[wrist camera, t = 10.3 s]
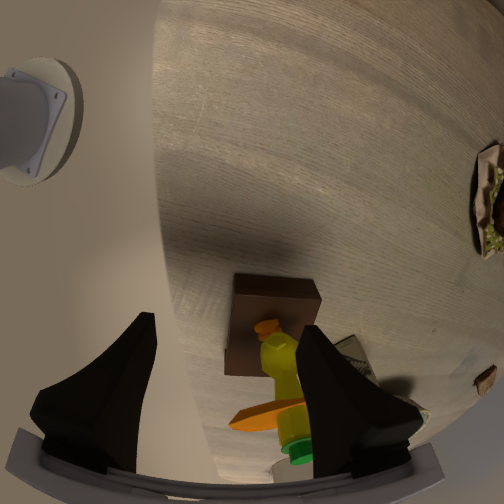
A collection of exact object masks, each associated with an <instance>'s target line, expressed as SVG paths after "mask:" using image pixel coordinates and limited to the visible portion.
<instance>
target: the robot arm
mask: <svg viewBox="0 0 504 504" xmlns="http://www.w3.org/2000/svg"><path fill="white" fill-rule="evenodd" d="M14 74H15V76H14ZM58 93H59V97H58V98H57V94H58ZM66 100H67V93H66V92H64V91H62V90H60V89H58V88H56V87H54V86H52V85H50V84H48V83H45V82H43V81H41V80H39V79H37V78H35V77H32V76H30V75H28V74H26V73H24V72H21V71H19V70H17V69H15V68H8V70H7V71H6V73H5V76H4V77H0V170H1V169H4V168H6V167H9V166H12V165H13V166H15V167H16V168H18V169H19V170H20V171H22V172H23V173H25V174H26V175H28V176H29V177H30V178H35V177H37V175H38V172H39V169H40V166H41V163H42V160H43V157H44V154H45V151H46V148H47V145H48V142H49V140H50V137H51V134H52V132H53V129H54V127H55V124H56V122H57V120H58V117H59V115H60V113H61V110H62V108H63V106H64V104H65V102H66ZM30 169H31V172H30ZM156 349H157V336H156V327H155V316H154V313H148V312H141V313H140V314H139V315H138V316H137V318H136V319H135V320H134V321H133V322H132V323H131V325H130V326H129V327H128V328H127V329H126V330H125V331H124V332H123V333H122V335H121V336H120V337H119V338H118V339H117V340H116V341H115V342H114V343H113V344H112V345H111V346H110V347H109V348H108V349H107V350H106V351H104V352H103V353H102V354H101V355H100V356H99V357H98V358H96V359H95V360H94V361H93V362H91V363H90V364H89V365H87V366H86V367H85V368H83V369H82V370H80V371H79V372H77V373H76V374H74V375H72V376H70V377H68V378H67V379H65V380H63V381H61V382H59V383H57V384H55V385H52V386H50V387H48V388H45V389H43V390H40V392H39V393H38V395H37V397H36V399H35V402H34V404H33V406H32V409H31V411H30V417H31V419H32V420H33V421H34V423H35V424H36V425H37V426H38V427H39V428H40V430H41V431H42V432H43V433H44V434H45V438H44V440H43V439H41V438H40V437H38V436H36V435H34V434H32V433H30V432H28V431H26V430H24V429H22V428H18V431H17V434H16V436H15V439H14V442H13V445H12V448H11V451H10V454H9V457H8V460H7V463H6V466H5V469H6V470H7V471H8V472H10V473H11V474H13V475H14V476H16V477H17V478H19V479H20V480H22V481H23V482H25V483H27V484H29V485H30V486H32V487H33V488H35V489H37V490H39V491H41V492H43V493H45V494H47V495H49V496H51V497H54V498H56V499H58V500H60V501H62V502H65V503H67V504H398V503H400V502H402V501H405V500H407V499H409V498H411V497H414V496H416V495H418V494H420V493H421V492H423V491H425V490H427V489H429V488H431V487H432V486H434V485H436V484H438V483H439V482H441V481H443V480H444V479H445V476H444V473H443V471H442V468H441V466H440V464H439V461H438V459H437V457H436V454H435V452H434V449H433V447H432V445H431V443H427V444H424V445H422V446H419V447H417V448H414V449H412V450H411V451H408V448H407V447H408V446H409V445H410V443H409V441H408V439H409V438H410V437H411V436H412V435H413V434H415V433H416V432H417V431H418V430H419V429H420V428H421V426H422V425H423V423H424V420H423V418H422V416H421V413H420V411H419V409H418V408H417V407H416V406H414V405H412V404H410V403H407V402H405V401H403V400H401V399H399V398H397V397H395V396H393V395H391V394H390V393H388V392H386V391H385V390H383V389H382V388H380V387H379V386H377V385H376V384H374V383H373V382H372V381H370V380H369V379H368V378H367V377H365V376H364V375H363V374H362V373H361V372H359V371H358V370H357V369H356V368H355V367H354V366H353V365H352V364H351V363H350V362H349V361H348V360H347V359H346V358H345V357H344V356H343V355H342V354H341V353H340V352H339V351H338V350H337V348H336V347H335V346H334V345H333V344H332V343H331V342H330V340H329V339H328V338H327V337H326V336H325V335H324V333H323V332H322V331H321V330H320V329H319V327H318V326H317V325H305V326H304V329H303V332H302V335H301V338H300V340H299V343H298V346H297V349H296V352H295V358H296V366H297V372H298V376H299V380H300V384H301V388H302V391H303V395H304V399H305V402H306V406H307V411H308V416H309V423H310V431H311V440H312V454H313V479H310V480H302V481H294V482H284V483H271V484H250V485H249V484H247V485H232V484H229V485H228V484H206V483H193V482H184V481H175V480H168V479H162V478H156V477H149V476H145V475H140V474H136V458H137V443H138V432H139V422H140V416H141V409H142V403H143V399H144V395H145V392H146V388H147V385H148V381H149V378H150V374H151V371H152V368H153V364H154V360H155V355H156ZM165 495H167V496H174V497H182V498H193V499H204V500H199V501H187V500H172V499H168V497H167V496H165ZM298 496H301V497H298Z"/></svg>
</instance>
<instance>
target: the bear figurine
mask: <svg viewBox="0 0 504 504" xmlns="http://www.w3.org/2000/svg"><path fill="white" fill-rule="evenodd" d="M474 202H475V205H474V207H473V212H474V214H475V215H476V217H477V227H478V230H479V236H480V243H481V251H482V258H484V259H485V260H486V259H488V258H489V257H490V256H491V255H493V254H494V253H499V254H502V253H504V143H502V144H499V145H495V146H493V147H491V148H489V149H487V150H485V151H483V152H481V153H479V154H478V190H477V193H476V196H475V199H474ZM474 202H473V204H474ZM472 206H473V205H472Z"/></svg>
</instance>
